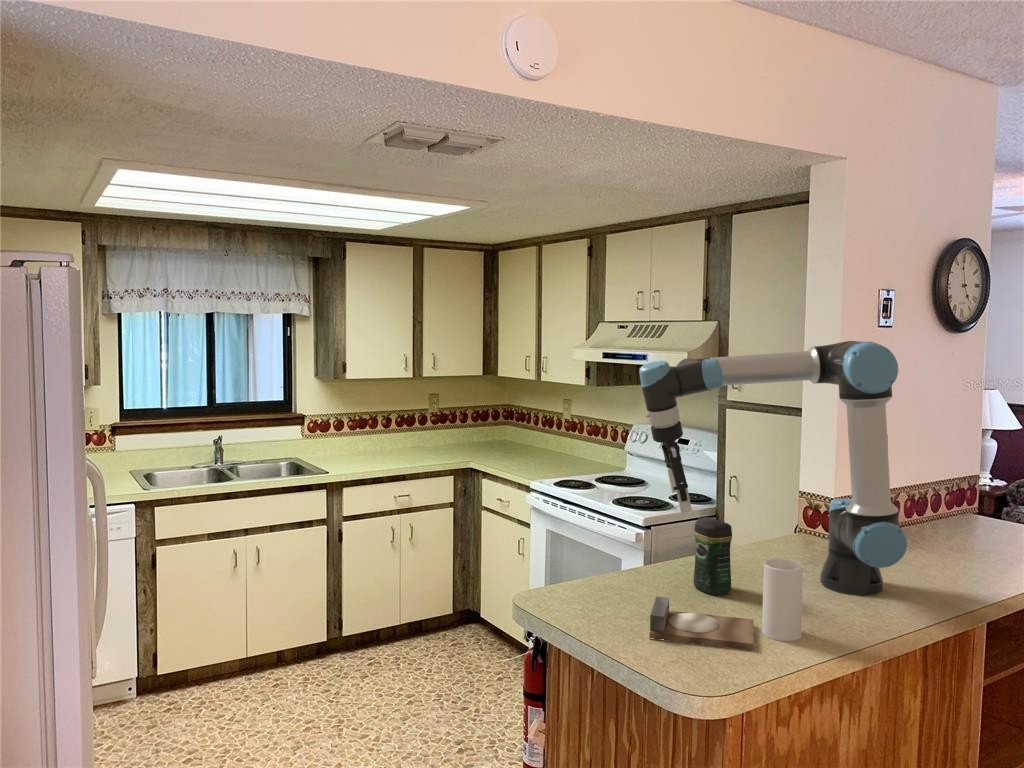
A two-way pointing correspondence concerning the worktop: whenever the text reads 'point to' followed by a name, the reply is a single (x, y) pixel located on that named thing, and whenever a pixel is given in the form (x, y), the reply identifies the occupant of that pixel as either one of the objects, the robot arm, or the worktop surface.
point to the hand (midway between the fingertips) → (681, 501)
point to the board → (700, 627)
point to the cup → (782, 599)
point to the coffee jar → (712, 556)
